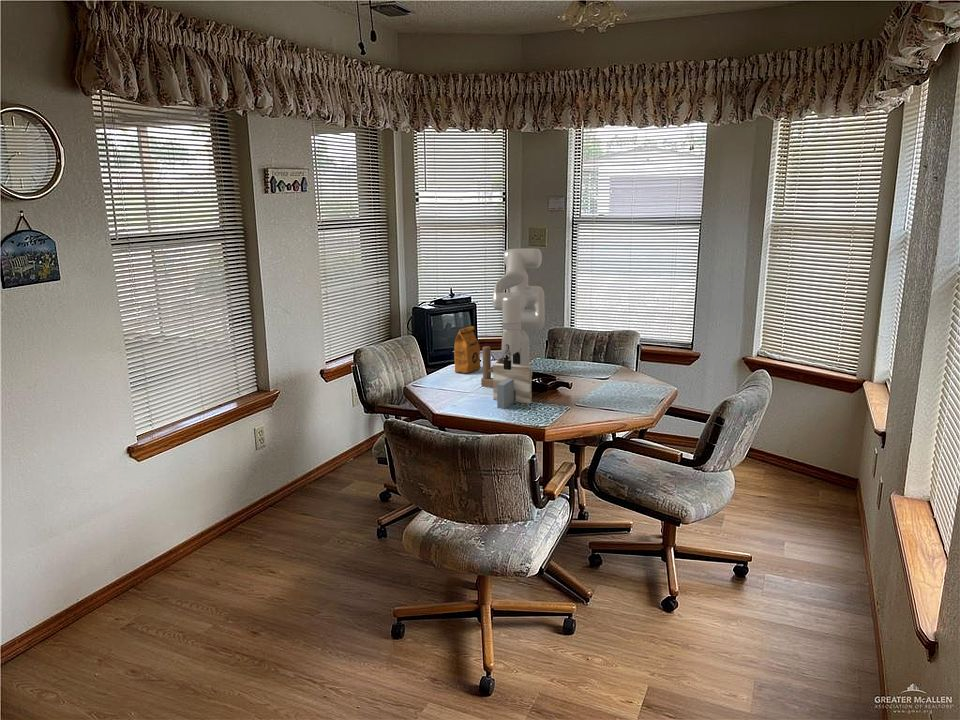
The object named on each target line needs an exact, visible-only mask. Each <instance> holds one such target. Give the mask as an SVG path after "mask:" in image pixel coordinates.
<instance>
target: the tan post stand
mask: <svg viewBox="0 0 960 720" xmlns="http://www.w3.org/2000/svg"><path fill="white" fill-rule="evenodd" d="M481 349H482V377H481V383H480V384H481V387H485V388H491V389H493V377H492V374H493V365H492V364H491V362H492V361H491V359H492V358H491V357H492V356H491V346H488V345H487V346H483V347H482V348H481ZM495 363H498V364H504V360H503V357H500V358H499V359H498V360H497V361H496V362H495Z"/></svg>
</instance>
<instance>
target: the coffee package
mask: <svg viewBox="0 0 960 720" xmlns="http://www.w3.org/2000/svg"><path fill="white" fill-rule="evenodd" d="M474 330H476V329H475V326H473V325H471V326H468V327H464V328H461V329H459V331H458V332H457V335H456V337H455V340H454V347H453V349H454V350H453V355H454V357H453V358H454V372H455V373H458V374H459V373H461V374H462V373H463V374H469V373H473V372H476V371H479V370H480V369H481V348H480V344H479V341H478V339H477V338H476V335H475V333H474Z"/></svg>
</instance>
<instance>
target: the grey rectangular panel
mask: <svg viewBox="0 0 960 720" xmlns="http://www.w3.org/2000/svg"><path fill="white" fill-rule="evenodd" d="M496 403H497V404H496V405H497V406H496V407H497V409H499V408H501V410H505V409H506V408H508V407H509V406H510V405H512V404H513V403H516V390H514V380H513V379H508V378H507V379H505V380H503V381H502V382H500V383H499V384H497V400H496Z"/></svg>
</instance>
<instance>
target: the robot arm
mask: <svg viewBox="0 0 960 720" xmlns="http://www.w3.org/2000/svg"><path fill="white" fill-rule="evenodd" d="M503 261H504V265H505V274H504V275H503V276H501V277H500V278H499V279H498V280H497V281H496V283H495V284H494V286H493V292H492V301H491V303H492V307H493V308H494V310H495V311H502V336H501V354H502V358H503V360H504V369H505V370H511V365H519V366H530V367H531V363H530V338H529V335H528V334H527V333H526V332H525V331H527V330H534V331H537V330H538V331H539V330H543V328H544V327H545V320H546V319H545V315H546V314H545V312H546V311H545V310H546V309H545V306H546V305H545V292H544V288H542V287H541V286H539V285H529V274H528V272H527V271H526V269H533V268H534V269H538V268H539V267H540V266H541V265H542V261H543V254H542V252H541V250H540V248H534V247H533V248H525V247H524V248H510V249H509V248H508V249H505V250H504V252H503ZM508 289H509V292H504V291H506V290H508ZM526 307H532V308H534V309H530V308H529V309H526Z"/></svg>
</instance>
